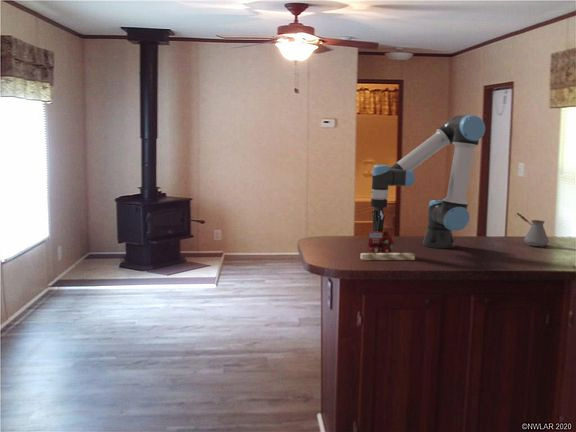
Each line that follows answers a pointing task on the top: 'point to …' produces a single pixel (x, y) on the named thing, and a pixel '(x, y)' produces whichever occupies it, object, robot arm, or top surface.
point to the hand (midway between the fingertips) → (376, 248)
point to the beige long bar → (387, 256)
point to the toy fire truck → (379, 242)
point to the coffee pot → (535, 233)
